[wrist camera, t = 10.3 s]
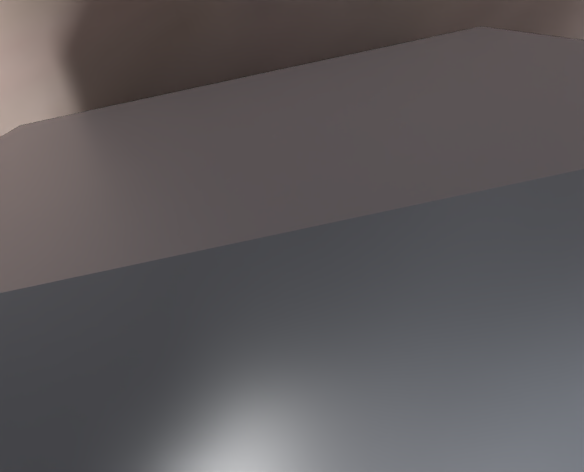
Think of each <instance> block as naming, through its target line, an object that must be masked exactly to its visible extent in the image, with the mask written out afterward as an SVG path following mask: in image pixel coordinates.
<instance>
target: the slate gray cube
mask: <svg viewBox="0 0 584 472" xmlns="http://www.w3.org/2000/svg"><path fill="white" fill-rule="evenodd" d="M0 472H584V40H578V39H571V38H564V37H556V36H549V35H541V34H534V33H526V32H519V31H511V30H504V29H497V28H489V27H482V26H480V27H476V28H471V29H466V30H462V31H457V32H452V33H448V34H443V35H438V36H434V37H429V38H425V39H420V40H415V41H411V42H406V43H401V44H397V45H392V46H387V47H383V48H378V49H373V50H369V51H364V52H359V53H355V54H350V55H345V56H341V57H336V58H331V59H327V60H322V61H317V62H313V63H308V64H303V65H299V66H294V67H289V68H285V69H280V70H276V71H271V72H266V73H262V74H257V75H252V76H248V77H243V78H238V79H234V80H229V81H224V82H220V83H215V84H210V85H206V86H201V87H196V88H192V89H187V90H182V91H178V92H173V93H168V94H164V95H159V96H154V97H150V98H145V99H140V100H136V101H131V102H126V103H122V104H117V105H113V106H108V107H103V108H99V109H94V110H89V111H85V112H80V113H75V114H71V115H66V116H61V117H57V118H52V119H47V120H43V121H38V122H33V123H29V124H24V125H20V126H18V127H17V128H15V129H13V130H11V131H10V132H8V133H6V134H5V135H3V136H1V137H0Z"/></svg>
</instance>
